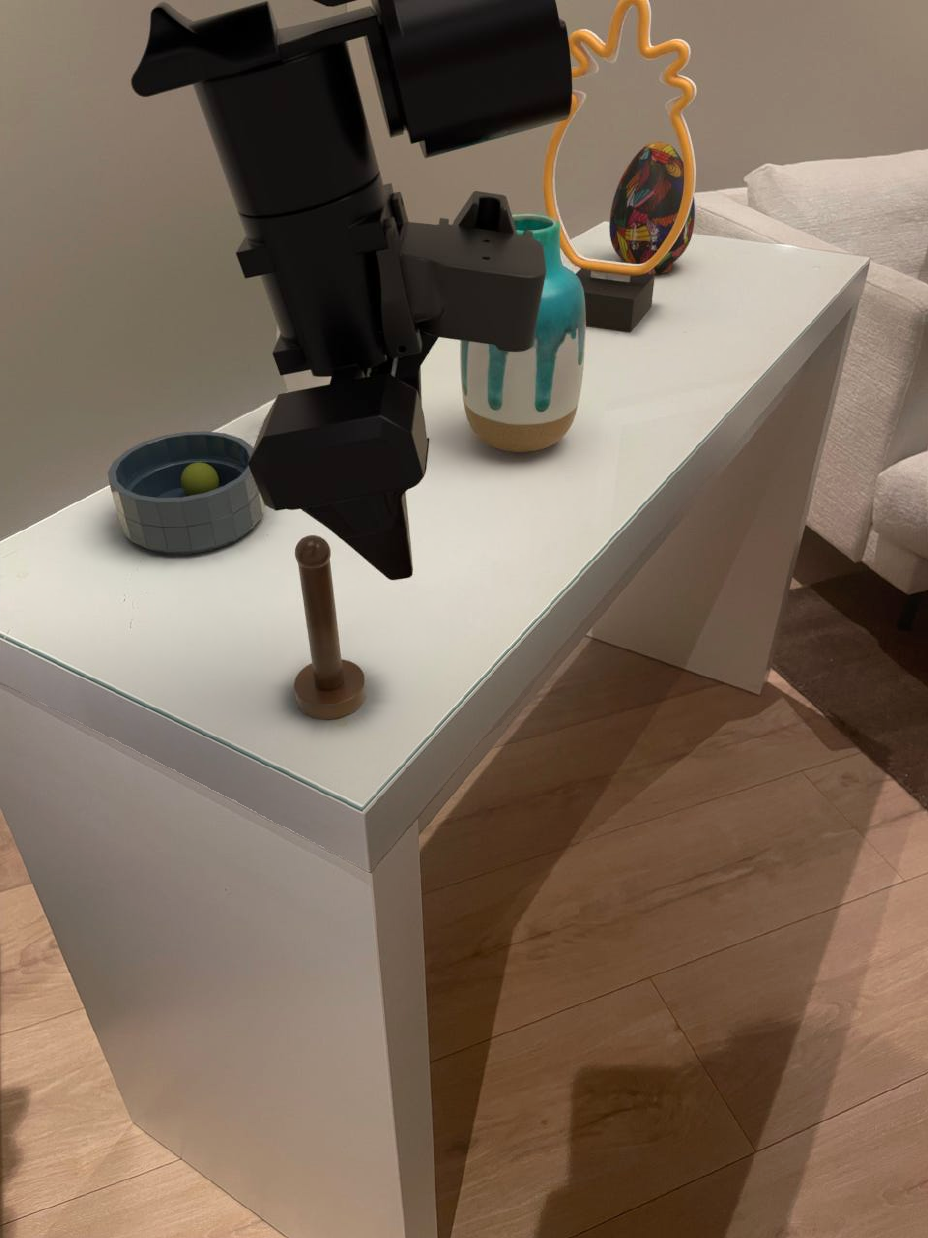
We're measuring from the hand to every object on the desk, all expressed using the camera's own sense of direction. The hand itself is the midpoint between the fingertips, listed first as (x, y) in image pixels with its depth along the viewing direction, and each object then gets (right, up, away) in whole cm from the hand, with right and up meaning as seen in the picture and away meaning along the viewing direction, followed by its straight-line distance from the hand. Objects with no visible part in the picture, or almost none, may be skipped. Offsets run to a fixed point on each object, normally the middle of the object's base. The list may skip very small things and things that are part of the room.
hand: (408, 519), depth 46 cm
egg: (+27, +41, +78) cm, 93 cm away
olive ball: (-19, +6, +31) cm, 37 cm away
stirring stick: (-6, -10, +13) cm, 18 cm away
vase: (+8, +11, +40) cm, 42 cm away
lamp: (+19, +31, +65) cm, 75 cm away
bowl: (-19, +3, +30) cm, 36 cm away
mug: (-11, +12, +41) cm, 44 cm away
